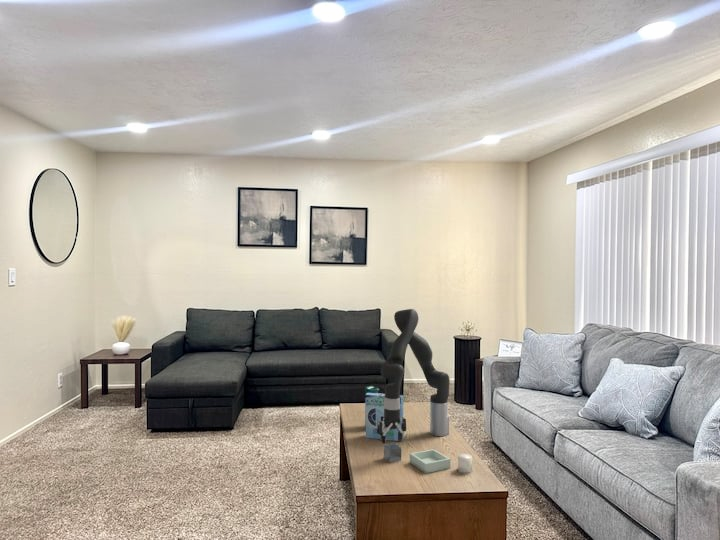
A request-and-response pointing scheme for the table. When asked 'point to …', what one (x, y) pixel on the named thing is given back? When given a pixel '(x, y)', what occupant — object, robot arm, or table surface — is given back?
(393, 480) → the table surface
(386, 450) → the iron cube
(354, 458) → the table surface
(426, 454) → the tote
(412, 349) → the robot arm
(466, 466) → the cream tapered egg shape
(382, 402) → the gum box
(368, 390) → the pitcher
